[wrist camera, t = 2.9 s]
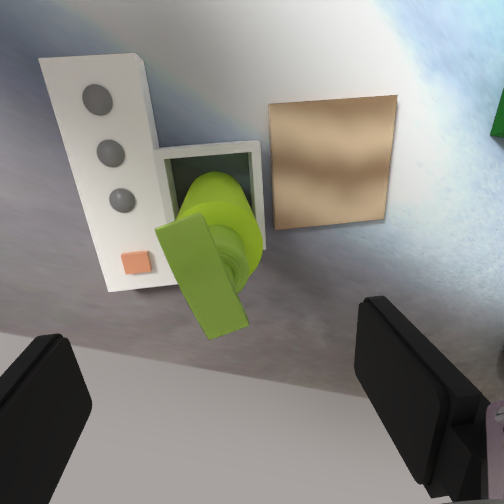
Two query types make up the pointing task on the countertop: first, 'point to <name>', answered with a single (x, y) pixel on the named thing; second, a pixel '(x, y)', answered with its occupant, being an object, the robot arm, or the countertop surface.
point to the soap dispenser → (213, 251)
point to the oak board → (330, 160)
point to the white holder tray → (126, 163)
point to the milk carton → (499, 120)
